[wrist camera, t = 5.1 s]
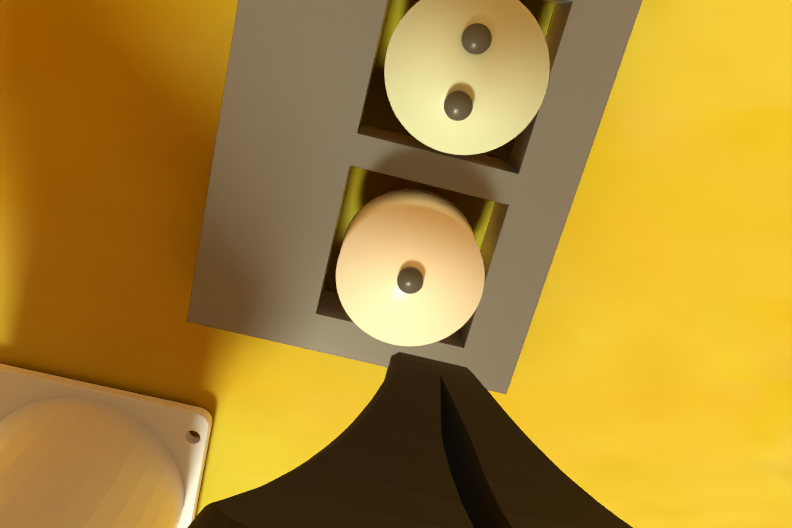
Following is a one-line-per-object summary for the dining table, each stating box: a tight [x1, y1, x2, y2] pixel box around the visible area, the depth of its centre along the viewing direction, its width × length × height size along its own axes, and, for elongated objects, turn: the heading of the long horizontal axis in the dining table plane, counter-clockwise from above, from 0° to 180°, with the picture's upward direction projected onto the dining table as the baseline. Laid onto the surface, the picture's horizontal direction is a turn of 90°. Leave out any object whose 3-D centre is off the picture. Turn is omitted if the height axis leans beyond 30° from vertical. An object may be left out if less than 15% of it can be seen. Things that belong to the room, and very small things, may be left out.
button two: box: [384, 0, 550, 155], centre depth 17 cm, size 4×4×2 cm
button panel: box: [187, 0, 642, 394], centre depth 18 cm, size 18×10×2 cm, turn 166°
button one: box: [336, 189, 485, 346], centre depth 19 cm, size 4×4×2 cm
